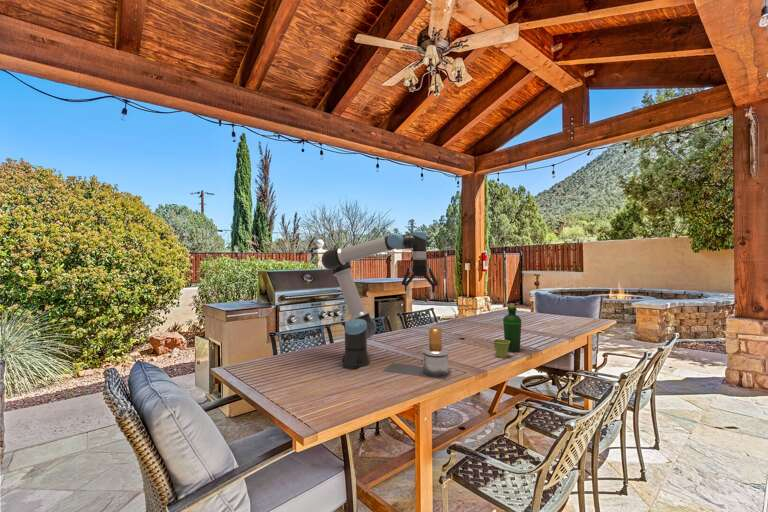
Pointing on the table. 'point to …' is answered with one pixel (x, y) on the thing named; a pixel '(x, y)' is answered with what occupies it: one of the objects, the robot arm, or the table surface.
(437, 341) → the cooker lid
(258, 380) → the table surface
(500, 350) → the plant pot
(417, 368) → the stove mat
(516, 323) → the bottle
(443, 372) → the cylinder
